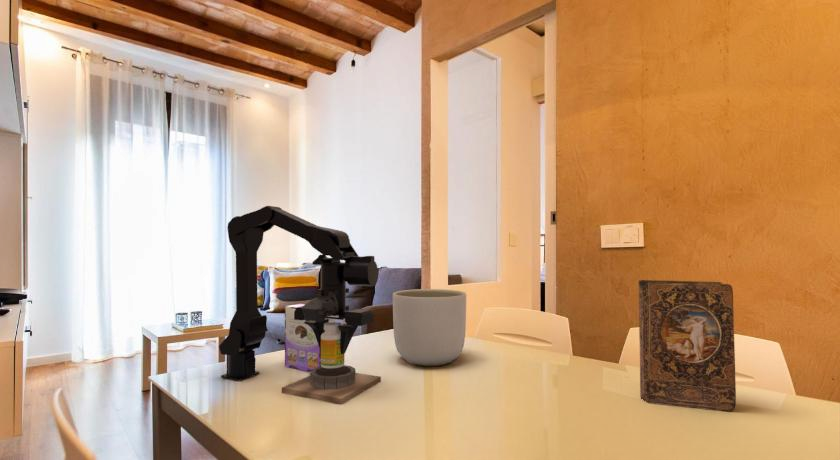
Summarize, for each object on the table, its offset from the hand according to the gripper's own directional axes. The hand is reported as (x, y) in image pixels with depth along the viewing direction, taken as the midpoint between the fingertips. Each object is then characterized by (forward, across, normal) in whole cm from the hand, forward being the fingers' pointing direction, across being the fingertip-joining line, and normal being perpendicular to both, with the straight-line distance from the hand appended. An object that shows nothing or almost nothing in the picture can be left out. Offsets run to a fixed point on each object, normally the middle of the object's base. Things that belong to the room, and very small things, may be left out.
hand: (332, 352), depth 100 cm
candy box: (+8, -15, +10) cm, 20 cm away
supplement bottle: (+3, 0, 0) cm, 3 cm away
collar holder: (+8, 0, 0) cm, 8 cm away
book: (+8, +72, +23) cm, 76 cm away
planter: (+8, +11, +30) cm, 33 cm away
